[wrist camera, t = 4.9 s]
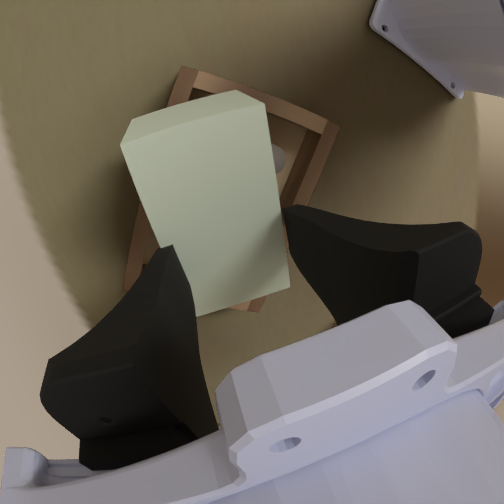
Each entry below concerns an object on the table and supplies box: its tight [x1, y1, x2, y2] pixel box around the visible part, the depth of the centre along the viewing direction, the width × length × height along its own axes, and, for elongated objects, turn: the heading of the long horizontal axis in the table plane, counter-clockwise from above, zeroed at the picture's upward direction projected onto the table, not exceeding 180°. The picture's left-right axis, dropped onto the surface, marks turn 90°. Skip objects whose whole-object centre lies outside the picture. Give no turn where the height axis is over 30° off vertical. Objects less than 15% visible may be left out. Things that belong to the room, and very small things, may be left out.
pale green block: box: [120, 90, 290, 317], centre depth 12 cm, size 4×8×4 cm, turn 12°
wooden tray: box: [123, 66, 341, 313], centre depth 16 cm, size 8×12×2 cm
